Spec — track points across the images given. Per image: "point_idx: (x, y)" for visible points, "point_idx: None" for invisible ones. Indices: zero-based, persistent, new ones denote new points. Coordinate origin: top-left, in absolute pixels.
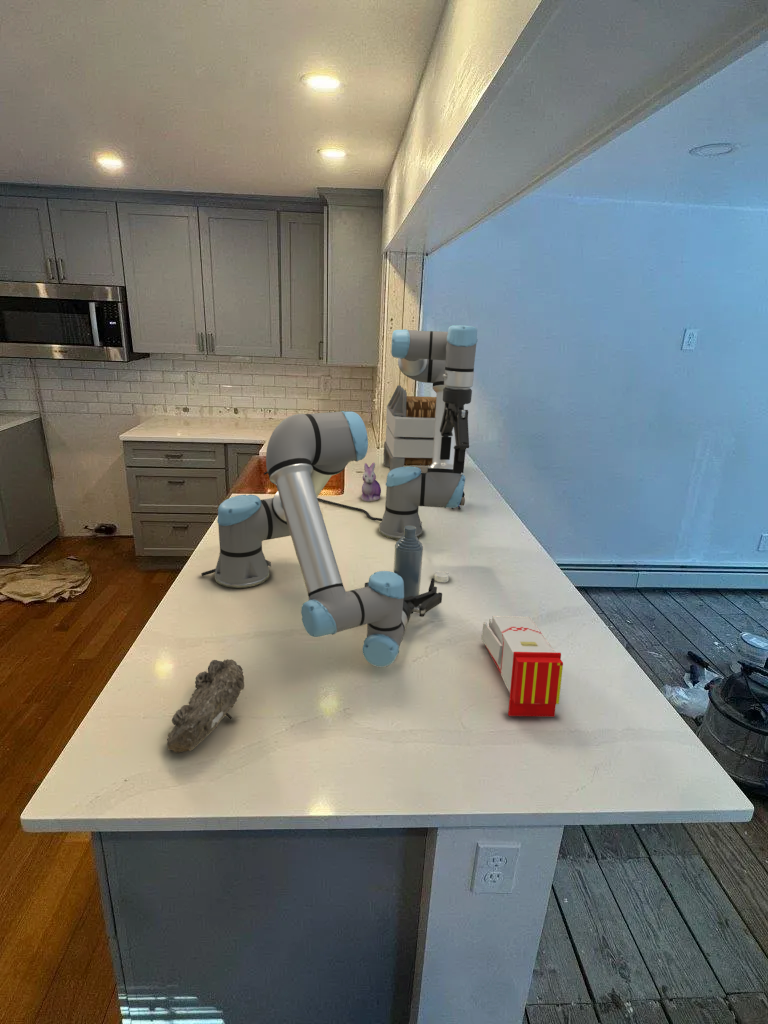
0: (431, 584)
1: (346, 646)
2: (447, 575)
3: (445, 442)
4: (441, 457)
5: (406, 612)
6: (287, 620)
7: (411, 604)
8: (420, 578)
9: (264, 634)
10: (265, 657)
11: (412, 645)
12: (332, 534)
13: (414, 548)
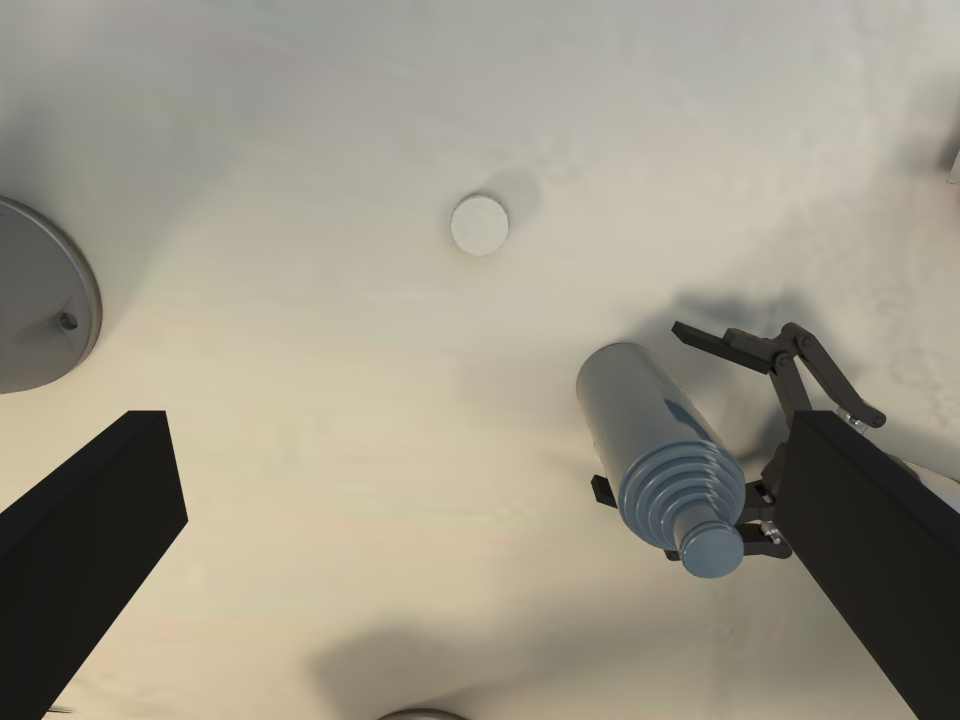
0: (733, 356)
1: None
2: (493, 207)
3: (7, 679)
4: (173, 531)
5: None
6: (670, 670)
7: None
8: (669, 382)
9: (721, 708)
10: (812, 704)
11: None
12: None
13: (743, 490)
